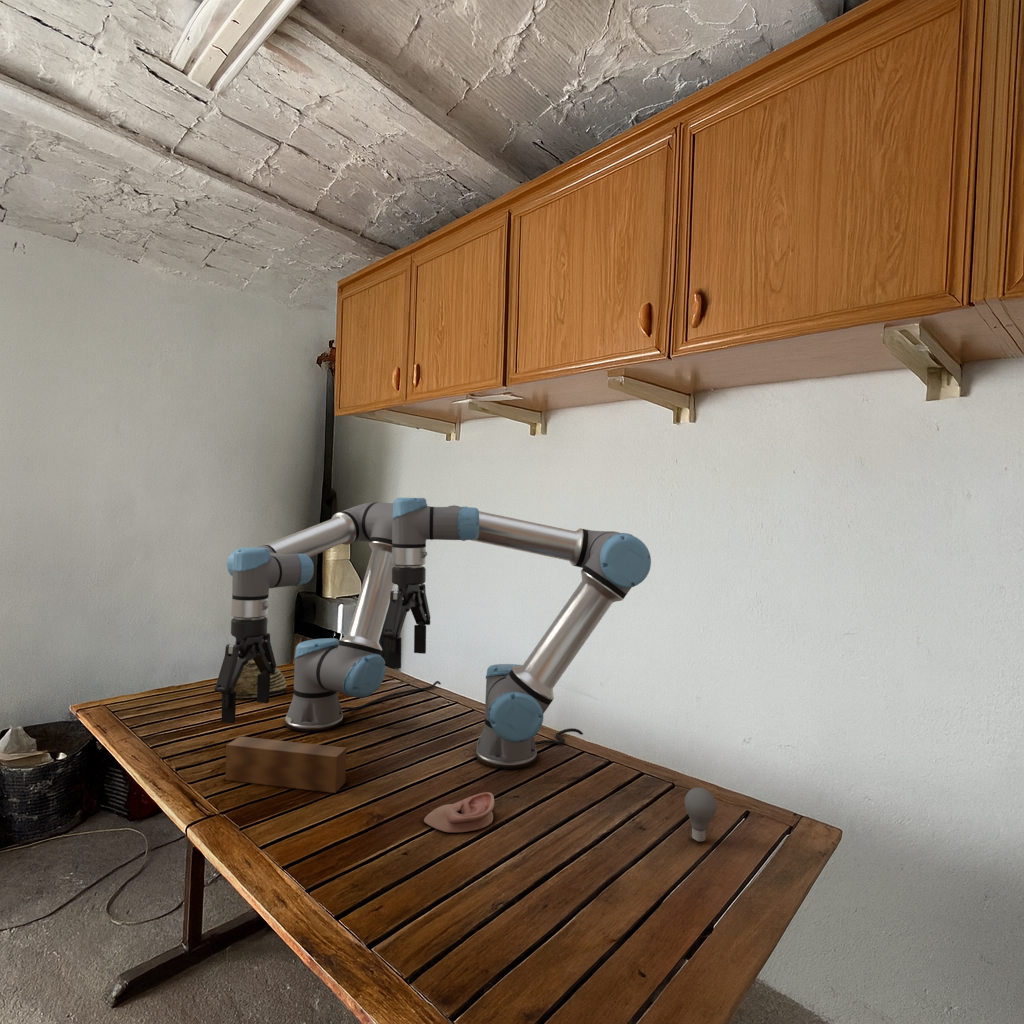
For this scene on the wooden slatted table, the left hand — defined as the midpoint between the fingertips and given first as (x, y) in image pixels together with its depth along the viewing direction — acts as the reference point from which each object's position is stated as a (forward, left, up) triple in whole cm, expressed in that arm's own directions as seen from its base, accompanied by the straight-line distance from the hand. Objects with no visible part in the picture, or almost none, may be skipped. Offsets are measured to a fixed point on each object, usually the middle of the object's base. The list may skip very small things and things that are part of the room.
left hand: (246, 712), depth 141 cm
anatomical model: (-19, +48, -15) cm, 54 cm away
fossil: (-31, -51, -15) cm, 62 cm away
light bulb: (-45, +87, -15) cm, 99 cm away
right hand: (-23, +27, +13) cm, 38 cm away
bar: (-5, +9, -15) cm, 18 cm away
